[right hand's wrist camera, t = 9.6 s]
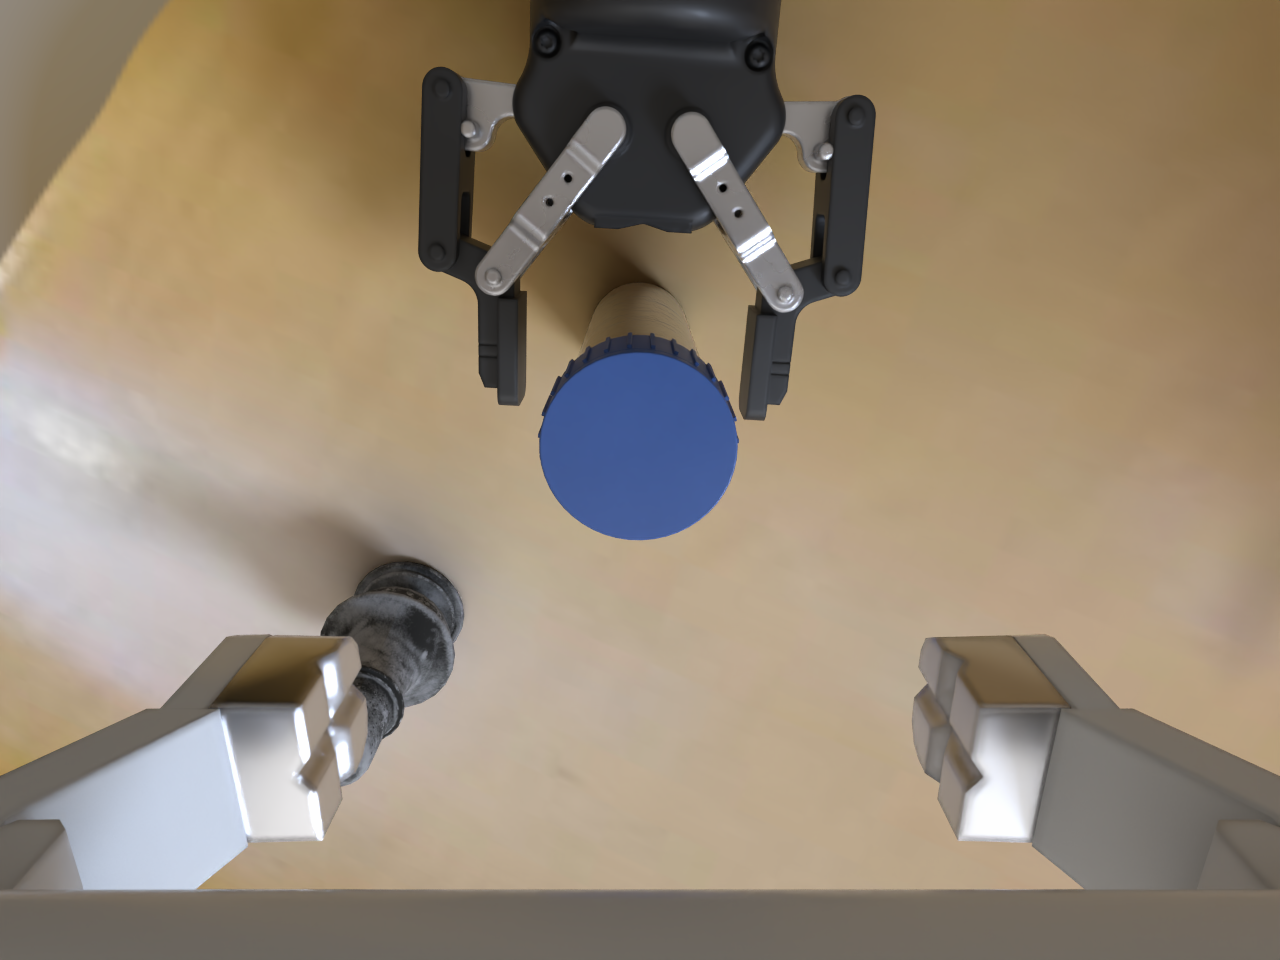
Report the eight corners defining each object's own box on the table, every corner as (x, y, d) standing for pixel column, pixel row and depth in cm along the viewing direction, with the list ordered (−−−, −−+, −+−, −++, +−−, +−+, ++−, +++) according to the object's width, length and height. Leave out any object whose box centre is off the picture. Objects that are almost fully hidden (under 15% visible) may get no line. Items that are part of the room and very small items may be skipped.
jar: (687, 280, 34) (724, 357, 19) (688, 378, 35) (723, 520, 20) (587, 283, 34) (547, 362, 19) (592, 381, 35) (558, 525, 20)
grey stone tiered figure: (335, 643, 39) (213, 828, 28) (362, 539, 37) (243, 693, 26) (452, 678, 40) (379, 872, 29) (484, 578, 38) (419, 743, 27)
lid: (732, 328, 20) (742, 344, 18) (730, 507, 22) (740, 541, 20) (539, 334, 21) (528, 351, 18) (552, 511, 22) (543, 546, 20)
